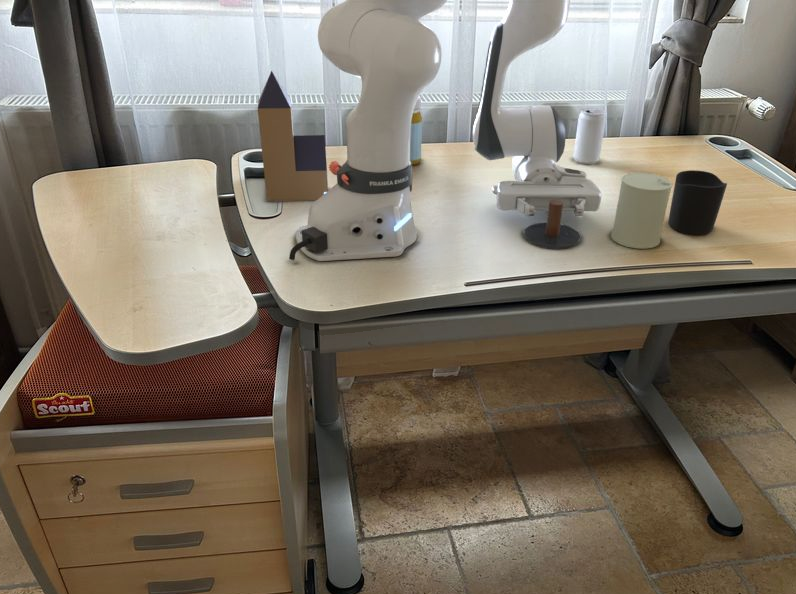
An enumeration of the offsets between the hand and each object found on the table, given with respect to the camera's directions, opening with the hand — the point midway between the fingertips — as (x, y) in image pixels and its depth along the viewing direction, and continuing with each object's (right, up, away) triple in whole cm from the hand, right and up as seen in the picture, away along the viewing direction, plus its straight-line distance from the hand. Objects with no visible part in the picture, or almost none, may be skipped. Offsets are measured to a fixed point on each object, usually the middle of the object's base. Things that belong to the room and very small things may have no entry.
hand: (555, 212), depth 134 cm
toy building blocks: (-52, +10, +22) cm, 58 cm away
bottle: (-29, +19, +37) cm, 51 cm away
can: (+16, -5, +4) cm, 17 cm away
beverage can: (+14, +20, +41) cm, 48 cm away
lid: (0, -4, +3) cm, 5 cm away
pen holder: (+29, -1, +9) cm, 30 cm away
